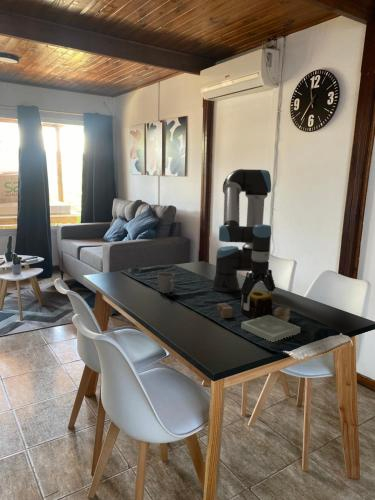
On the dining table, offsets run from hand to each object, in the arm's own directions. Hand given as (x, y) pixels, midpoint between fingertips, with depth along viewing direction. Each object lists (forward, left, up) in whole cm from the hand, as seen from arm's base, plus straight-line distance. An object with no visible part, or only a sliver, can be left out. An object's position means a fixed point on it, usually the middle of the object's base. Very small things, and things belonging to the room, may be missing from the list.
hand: (257, 307), depth 164 cm
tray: (+15, -8, -4) cm, 17 cm away
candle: (0, 0, -4) cm, 4 cm away
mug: (-48, -16, -4) cm, 51 cm away
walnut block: (-8, -12, -4) cm, 15 cm away
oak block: (+10, +5, -4) cm, 12 cm away
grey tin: (-10, +4, -4) cm, 12 cm away
